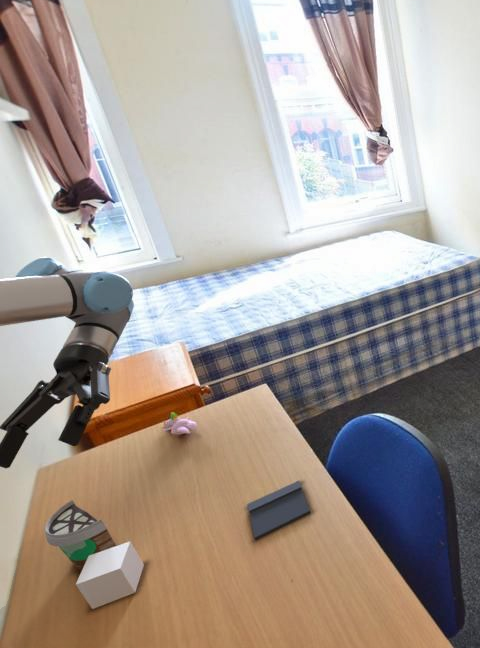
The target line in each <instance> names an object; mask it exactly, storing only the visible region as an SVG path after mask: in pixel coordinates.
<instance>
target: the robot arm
mask: <svg viewBox="0 0 480 648" xmlns="http://www.w3.org/2000/svg"><path fill="white" fill-rule="evenodd" d="M132 286H133V285H132V284H131V283H130V281H129V280H128V279H126V278H125V277H124V276H122V275H120V274H118V273H113V272H108V271H104V270H103V271H90V270H81V269H70V268H68V267H66V266H65V264H63V263H61V262H59V261H58V260H56V259H54V258H52V257H50V256H42V257H39V258H37V259H34V260H32V261H31V262H30V263H28V264H26V265H25V266H24V267H23V268H21V269H20V270H19V271H18V272H17V273H16V275H15V276H14V278H3V279H2V278H1V279H0V327H4V326H10V325H18V324H25V323H31V322H37V321H38V322H39V321H44V320H51V319H56V318H64V317H65V318H67V319H69V320H70V321H72V322H73V323H75V324H74V326H73V328H72V329H71V331H70V332H69V334H68V336H67V338H66V340H65V342H64V343H63V346H62V348H61V349H60V350H59V352H58V354H57V355H56V358H55V359H54V361H53V364H52V365H53V369H54V370H55V372H56V373H55V376H54V377H53V378H52V379H50V381H45V380H39V381H38V382H37V384H36V385H35V387H34V388H33V389H32V391H31V392H30V394H28V395H27V396H26V397H25V399H24V400H23V401H22V402H21V403H20V404H19V405H18V406H17V407H16V408H15V410H13V412H12V413H10V415H8V417H7V418H6V419H5V420H4V421H3V422H2V424H0V430H2V431H5V432H6V433H5V435H3V438H2V439H1V441H0V468H4V469H9V468H11V466H12V464H13V463H14V461H15V459H16V457H17V455H18V453H19V451H20V450H21V448H22V446H23V445H24V443H25V441H26V438H27V437H28V436H29V435H30V434H29V432H28V430H29V429H30V428H31V427H33V426H34V425H35V424H36V423H37V422H38V421H39V420H40V419H41V418H42V417H43V416H44V415H45V414H47V412H49V411H50V409H52V408H53V407H54V406H55V405H59V404H61V403H62V402H63V401H65V399H67V398H69V397H71V396H77V399H78V400H76V403H78V404H77V405H74V406H73V407H74V408H73V410H72V412H71V413H70V415H69V417H68V420H67V421H66V423H65V425H64V427H63V429H62V431H61V433H60V435H59V438H58V439H57V441H59V442H62V443H64V444H66V445H69V446H71V447H76V446H78V445H79V444H80V441H81V439H82V437H83V434H84V433H85V430H86V428H87V427H88V424H89V423H90V421H91V419H92V418H93V417H92V416H93V415H94V413H95V411H96V410H98V409H99V408H100V407H101V405H102V404H103V405H107V404H108V403H109V402H110V401H111V392H110V391H111V390H110V378H109V377H110V373H111V370H112V367H111V366H109V365H108V363H109V360H110V358H111V357H112V355H113V354H114V350H115V348H116V345H117V344H118V342H119V340H120V338H121V336H122V335H123V332H124V330H125V329H126V326H127V324H128V323H129V321H130V320H131V316H132V313H133V310H134V306H135V304H134V300H133V298H134V297H133V296H134V290H133V287H132ZM80 404H81V405H80Z"/></svg>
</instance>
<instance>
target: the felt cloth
mask: <svg viewBox="0 0 480 648" xmlns="http://www.w3.org/2000/svg"><path fill="white" fill-rule="evenodd" d="M305 496H306V495H305V494H304V490H303V488H302V485H301V483H300V480H298V481H295V482H293V483H291V484H287V485H286V486H284V487H281V488H279V489H277V490H276V491H273V492H271V493H268V494H266V495H264V496H261V497H260V498H257V499H255V500H253V501H250V502H249V503H247V511H248V513H249V516H250V522H251V527H252V533H253V537H254V540H256V541H257V540H259V539H260V538H263V537H265V536H266V535H268V534H270V533H273V532H275V531H277V530H279V529H281V528H283V527H285V526H287V525H289V524H291V523H293V522H295V521H297V520H299V519H301V518H303V517H306V516H307V515H309V514H311V510H310V507H309V504H308V501H307V498H306V497H305Z"/></svg>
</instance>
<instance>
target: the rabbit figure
mask: <svg viewBox="0 0 480 648" xmlns="http://www.w3.org/2000/svg"><path fill="white" fill-rule="evenodd" d="M189 419H190V417H189V416H186V418H180V416H179V415H178V414H177V413H175V412H173V411H172V412H170V419H168V420H167V421H165V420H162V422H163V427H164V428H163V429H162V432H167V431H170V434H171V435H184V434H186V435H189V434H191V431H197V429H198V426H197V422H196V421H192V420H189Z"/></svg>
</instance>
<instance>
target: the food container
mask: <svg viewBox="0 0 480 648" xmlns="http://www.w3.org/2000/svg"><path fill="white" fill-rule="evenodd" d="M44 534H45V538H46V542H47V544H49V545H50V546H53V547H58V548H59V549H60V550H61V552H62V553H63V554H64V555H65V556H66V557H67V559H68V560H69V561H70V562H71V563H72V564H73V565H74V566H75V568H76V569H77V570H78V571H79V572H82V570H83V567H84V565H85V563H86V561H87V559H88V556H90V555H92V554H95V553H98V552H101V551H104V550H107V549H109V548H112V547H115V546H117V545H116V543H115V541H114V539H113V538H112V536H111V534H110V532H109V530H108V527H107V525H106V524H105V522H104V521H103V520H102V518H100V519H97V518H95V517H94V516H93V515H91V514H90V513H89V512H88V511H85V510H84V509H82V508H81V507H79V506H78V505H76V503H75V502H74V500H73V499H71V500H70V501H68V502H66V503H65V504H63V505H62V506H61V507H60V508H58V509H57V510H56V511H55V512H54V513H53V514H52V515H51V516H50V517H49V519H48V520H47V522H46V524H45V529H44Z"/></svg>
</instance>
